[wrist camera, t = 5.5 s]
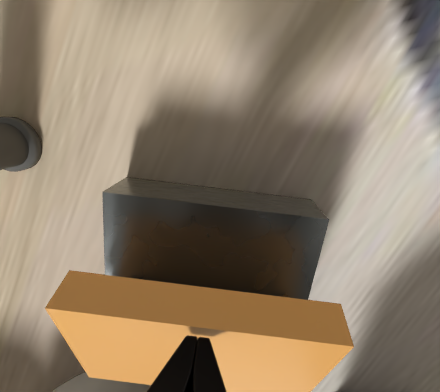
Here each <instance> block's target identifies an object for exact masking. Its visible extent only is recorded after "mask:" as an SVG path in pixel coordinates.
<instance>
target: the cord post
mask: <svg viewBox="0 0 440 392" xmlns="http://www.w3.org/2000/svg"><path fill="white" fill-rule="evenodd" d="M41 152H42V147H41V142H40V139H39V137H38V135H37V133H36V132H35V130H34V129H33V128H32V127H31V126H30V125H29V124H28V123H26V122H25V121H23V120H21V119H18V118H14V117H0V170H2V169H4V170H7V171H21V170H25V169H28V168H31V167H33V166H34V165H36V164H37V162H38V161H39V159H40V157H41Z"/></svg>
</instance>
